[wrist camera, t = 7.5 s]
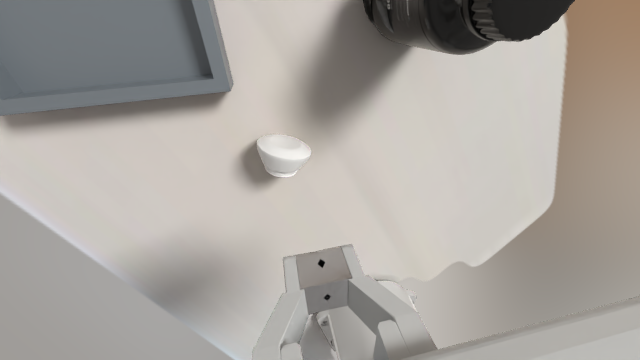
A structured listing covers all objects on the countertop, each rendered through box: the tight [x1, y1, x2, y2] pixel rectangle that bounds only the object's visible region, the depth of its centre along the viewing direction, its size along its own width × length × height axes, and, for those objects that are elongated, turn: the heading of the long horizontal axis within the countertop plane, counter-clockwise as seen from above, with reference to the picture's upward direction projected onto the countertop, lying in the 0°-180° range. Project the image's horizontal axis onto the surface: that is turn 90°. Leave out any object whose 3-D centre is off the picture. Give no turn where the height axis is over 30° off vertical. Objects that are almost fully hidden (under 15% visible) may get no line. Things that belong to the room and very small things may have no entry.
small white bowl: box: [257, 134, 312, 178], centre depth 24 cm, size 5×3×5 cm, turn 76°
